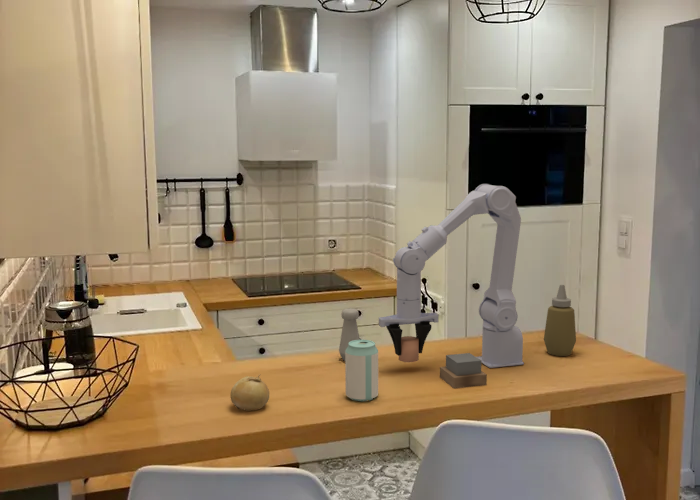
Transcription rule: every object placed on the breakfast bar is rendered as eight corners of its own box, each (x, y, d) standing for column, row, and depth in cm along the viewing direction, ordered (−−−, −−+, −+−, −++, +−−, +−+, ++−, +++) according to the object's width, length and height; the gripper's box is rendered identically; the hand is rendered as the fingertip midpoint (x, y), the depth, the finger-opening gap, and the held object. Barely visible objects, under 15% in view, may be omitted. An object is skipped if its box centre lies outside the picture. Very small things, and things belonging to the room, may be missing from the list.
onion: (233, 416, 144) (232, 382, 143) (228, 402, 151) (227, 370, 150) (272, 412, 146) (272, 378, 145) (266, 398, 154) (265, 367, 152)
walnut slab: (470, 376, 169) (471, 363, 168) (486, 387, 161) (486, 374, 161) (439, 379, 167) (439, 367, 166) (453, 390, 159) (454, 377, 159)
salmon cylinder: (414, 355, 175) (414, 335, 174) (421, 361, 170) (421, 340, 169) (395, 357, 173) (395, 337, 172) (402, 363, 169) (402, 342, 168)
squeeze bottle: (579, 351, 186) (582, 284, 183) (570, 360, 179) (573, 289, 176) (548, 347, 190) (550, 280, 187) (539, 355, 183) (541, 286, 180)
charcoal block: (469, 365, 167) (469, 352, 167) (481, 373, 162) (481, 360, 161) (445, 367, 166) (445, 355, 165) (456, 375, 160) (457, 362, 159)
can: (341, 393, 156) (340, 340, 154) (370, 389, 159) (370, 337, 157) (352, 404, 150) (352, 349, 148) (383, 400, 152) (383, 345, 150)
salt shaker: (362, 356, 183) (362, 306, 181) (361, 363, 177) (360, 312, 175) (340, 355, 183) (339, 306, 181) (337, 362, 178) (337, 311, 176)
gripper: (430, 292, 175) (430, 346, 177) (374, 296, 171) (374, 351, 173) (442, 298, 168) (441, 354, 170) (384, 302, 164) (384, 359, 166)
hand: (408, 353), depth 171 cm, fingers closed on salmon cylinder, 5 cm apart
